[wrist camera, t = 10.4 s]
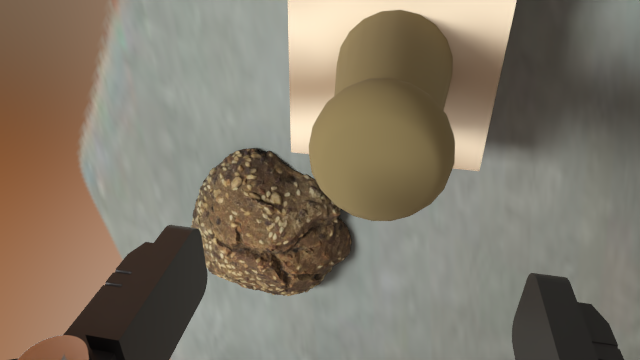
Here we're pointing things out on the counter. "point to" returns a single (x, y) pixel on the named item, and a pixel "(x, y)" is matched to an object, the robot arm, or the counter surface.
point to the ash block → (452, 20)
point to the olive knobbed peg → (386, 119)
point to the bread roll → (268, 225)
